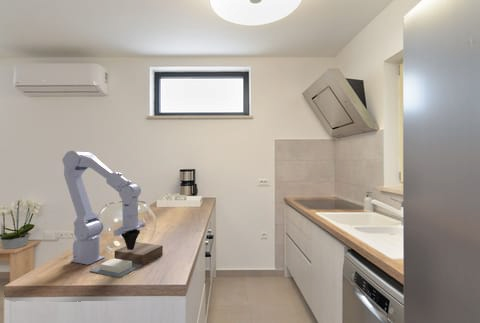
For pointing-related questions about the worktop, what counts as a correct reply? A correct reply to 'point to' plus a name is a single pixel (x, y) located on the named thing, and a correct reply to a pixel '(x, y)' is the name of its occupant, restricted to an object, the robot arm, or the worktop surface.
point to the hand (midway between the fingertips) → (130, 249)
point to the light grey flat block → (116, 265)
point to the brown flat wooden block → (140, 253)
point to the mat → (97, 270)
